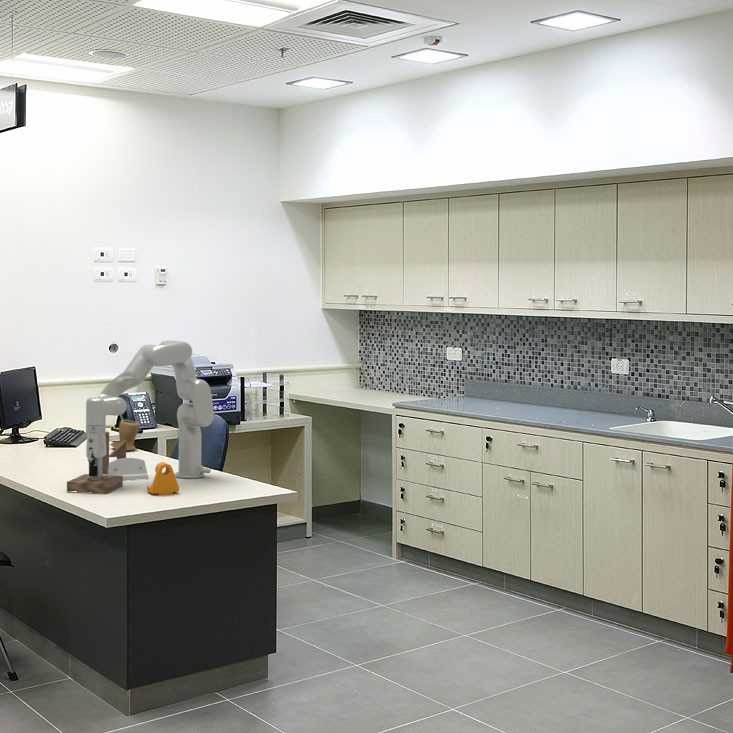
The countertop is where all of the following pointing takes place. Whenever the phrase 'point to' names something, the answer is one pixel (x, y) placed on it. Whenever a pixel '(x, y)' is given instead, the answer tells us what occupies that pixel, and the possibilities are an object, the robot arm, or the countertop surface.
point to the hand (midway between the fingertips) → (95, 474)
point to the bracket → (163, 481)
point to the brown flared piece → (127, 434)
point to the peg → (99, 470)
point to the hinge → (128, 468)
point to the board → (95, 484)
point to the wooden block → (118, 452)
